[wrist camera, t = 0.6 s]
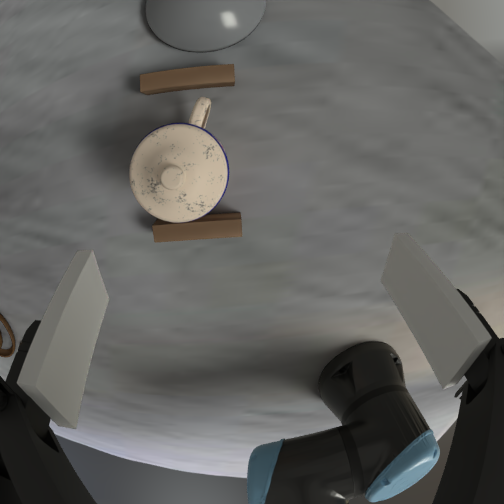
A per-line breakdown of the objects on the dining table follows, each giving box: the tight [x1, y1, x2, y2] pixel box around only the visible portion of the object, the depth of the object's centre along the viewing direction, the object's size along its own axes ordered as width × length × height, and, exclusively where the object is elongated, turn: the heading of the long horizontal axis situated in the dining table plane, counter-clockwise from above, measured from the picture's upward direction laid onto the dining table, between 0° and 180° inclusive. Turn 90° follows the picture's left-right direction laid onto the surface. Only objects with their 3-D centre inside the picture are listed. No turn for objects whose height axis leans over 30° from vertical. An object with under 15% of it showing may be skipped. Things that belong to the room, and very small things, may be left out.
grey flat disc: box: [146, 0, 266, 53], centre depth 26 cm, size 14×14×1 cm
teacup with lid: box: [129, 97, 229, 223], centre depth 28 cm, size 12×9×12 cm
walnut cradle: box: [140, 64, 242, 242], centre depth 32 cm, size 19×10×3 cm, turn 2°
